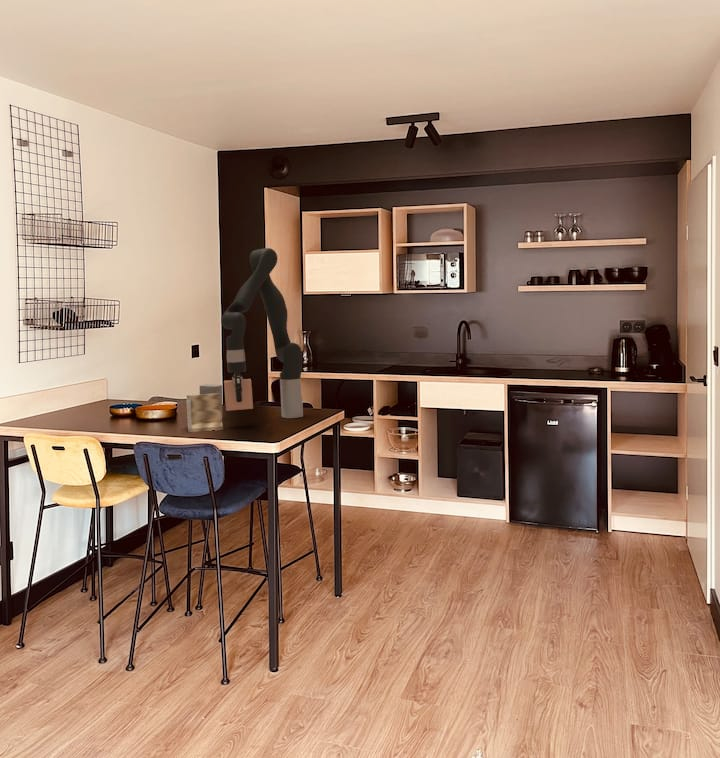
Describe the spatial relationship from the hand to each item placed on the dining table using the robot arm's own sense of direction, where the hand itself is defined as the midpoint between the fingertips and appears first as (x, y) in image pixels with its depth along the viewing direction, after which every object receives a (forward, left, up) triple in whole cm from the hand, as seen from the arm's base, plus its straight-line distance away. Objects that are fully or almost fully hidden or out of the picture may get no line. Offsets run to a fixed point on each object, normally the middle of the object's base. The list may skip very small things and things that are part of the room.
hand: (238, 400), depth 311 cm
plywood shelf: (+14, -2, -11) cm, 18 cm away
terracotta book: (0, 0, -3) cm, 3 cm away
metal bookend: (+21, -1, -9) cm, 23 cm away
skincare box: (+11, -21, -11) cm, 26 cm away
